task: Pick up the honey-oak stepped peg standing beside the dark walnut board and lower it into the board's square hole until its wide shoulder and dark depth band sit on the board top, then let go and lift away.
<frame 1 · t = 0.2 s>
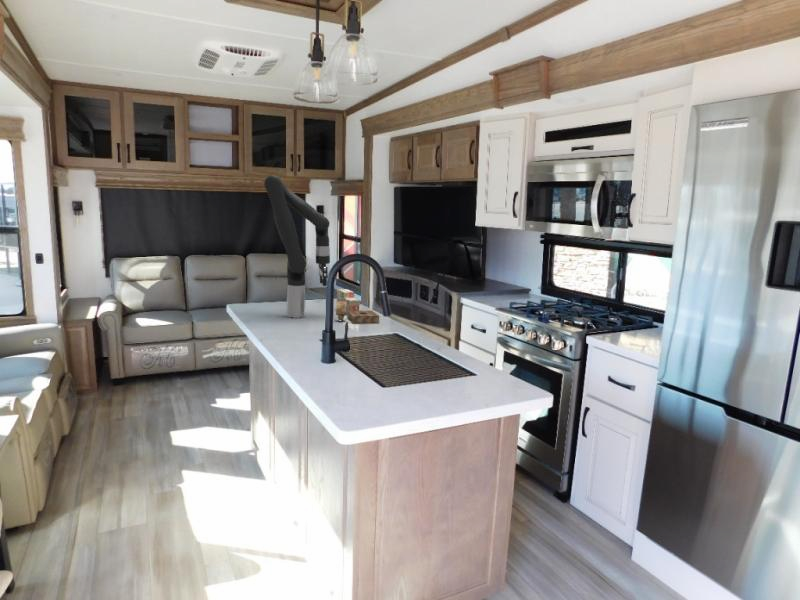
hand: (323, 284, 294), 18 cm above the countertop, tool pointing down, fingers open, 8 cm apart
walnut board: (362, 320, 292), on the countertop
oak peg: (340, 320, 289), on the countertop
stack of blocks: (347, 313, 311), on the countertop
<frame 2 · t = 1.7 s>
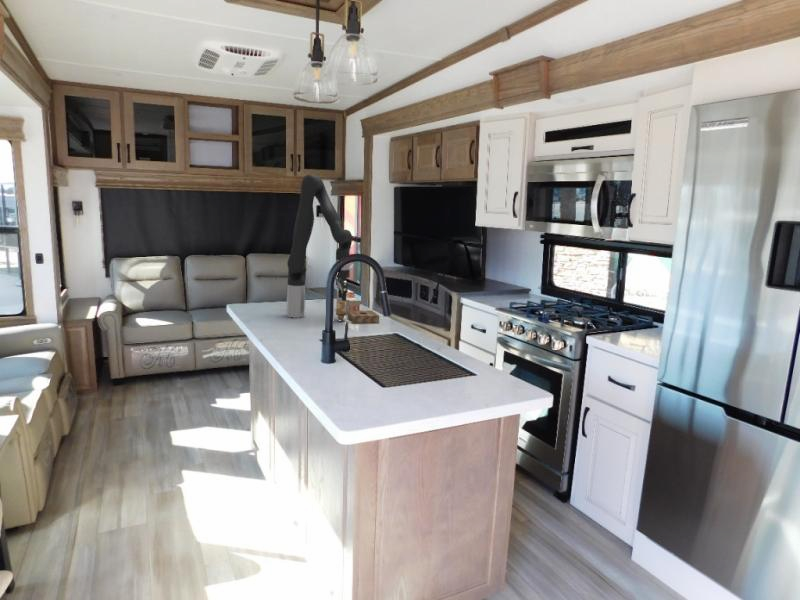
hand: (342, 299, 287), 12 cm above the countertop, tool pointing down, fingers open, 8 cm apart
nothing on the countertop moved.
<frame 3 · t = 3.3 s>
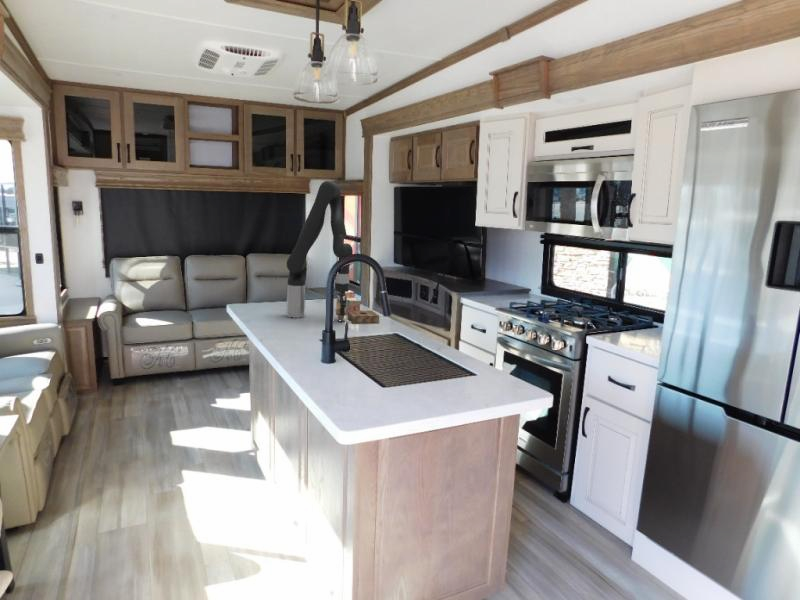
hand: (341, 313, 288), 4 cm above the countertop, tool pointing down, fingers closed on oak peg, 5 cm apart
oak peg: (340, 321, 289), on the countertop, touching gripper
everything else where it was.
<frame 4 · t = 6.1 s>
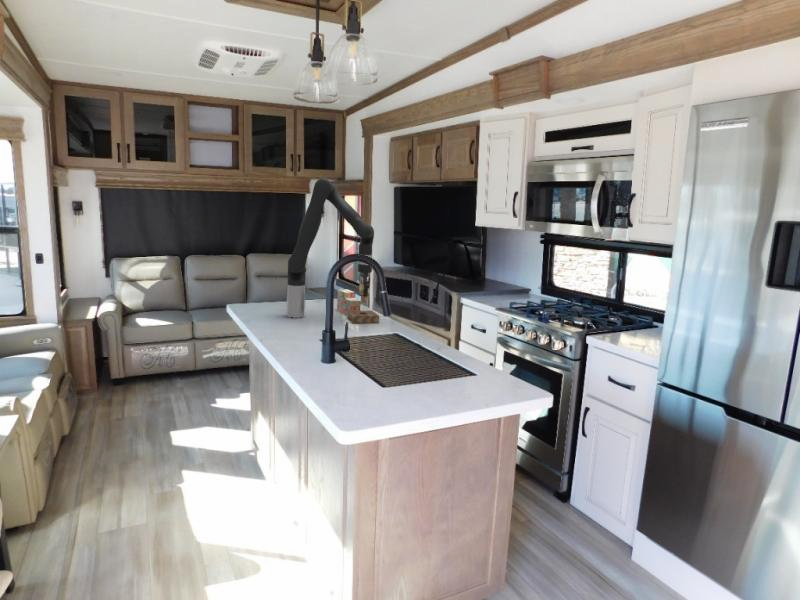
hand: (364, 294, 290), 14 cm above the countertop, tool pointing down, fingers closed on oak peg, 5 cm apart
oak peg: (364, 302, 291), point 10 cm above the countertop, touching gripper
everything else where it was.
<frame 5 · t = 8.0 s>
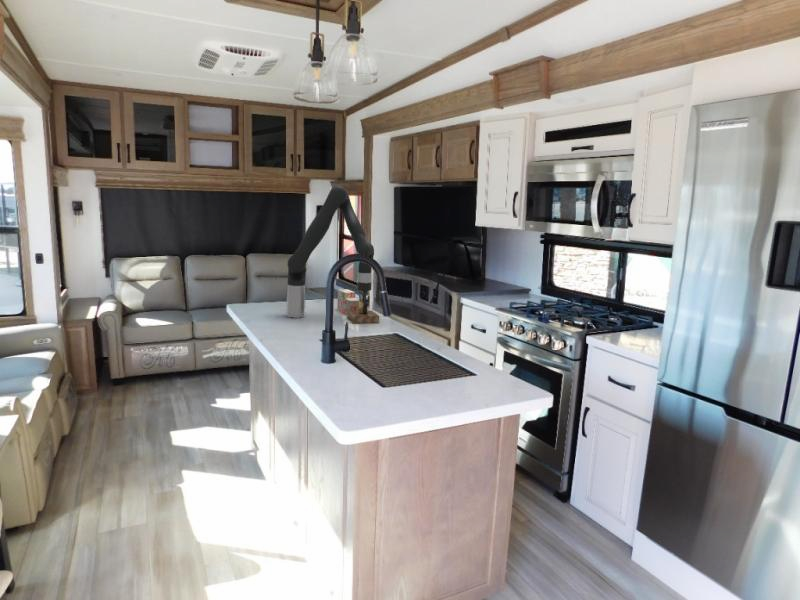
hand: (363, 312, 292), 4 cm above the countertop, tool pointing down, fingers closed on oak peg, 5 cm apart
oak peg: (363, 319, 292), resting in walnut board, touching gripper
everything else where it was.
when the fingers open (4 cm above the countertop, at t = 9.1 s): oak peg stays where it is, resting on walnut board.
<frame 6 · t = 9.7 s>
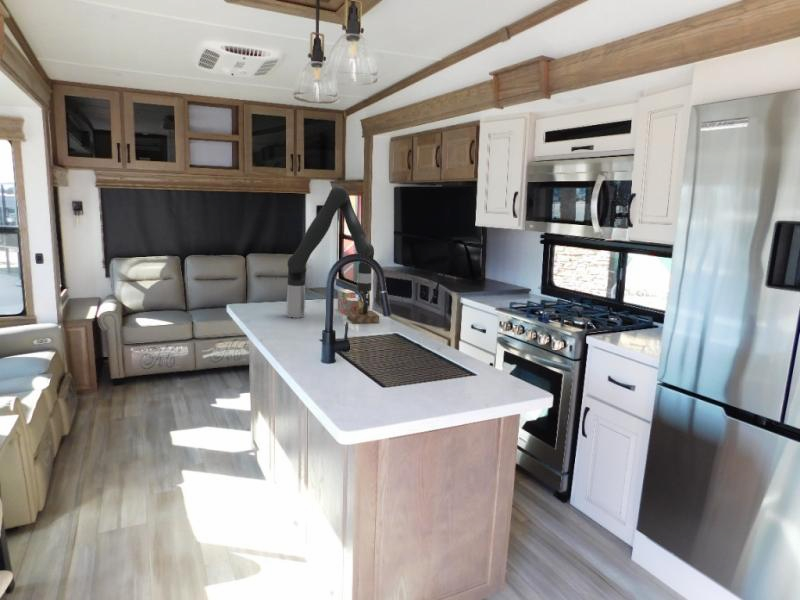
hand: (363, 311, 291), 5 cm above the countertop, tool pointing down, fingers open, 8 cm apart
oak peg: (363, 319, 292), resting on walnut board
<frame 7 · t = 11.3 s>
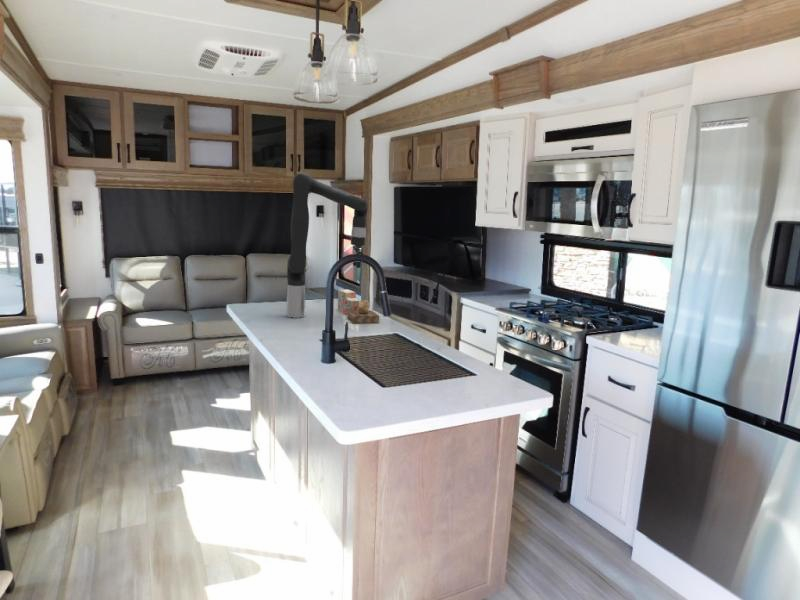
hand: (356, 266, 289), 29 cm above the countertop, tool pointing down, fingers open, 8 cm apart
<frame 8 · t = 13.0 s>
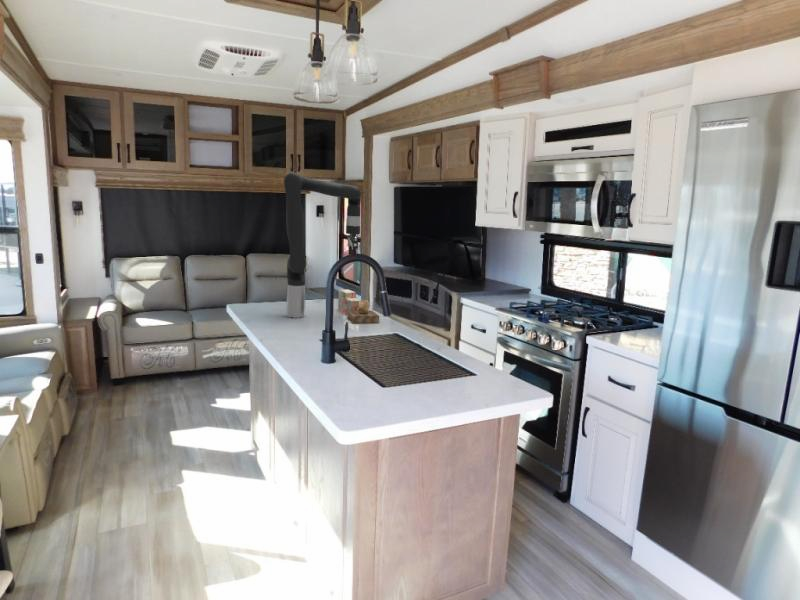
hand: (352, 255, 289), 34 cm above the countertop, tool pointing down, fingers open, 8 cm apart
at the end: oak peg 0.1 cm off-centre on the walnut board, point 0.5 cm above the walnut board's base; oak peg tilted 0°; the gripper is holding nothing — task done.
